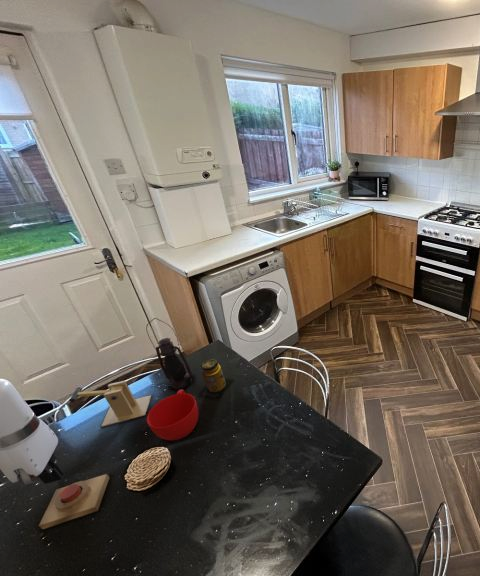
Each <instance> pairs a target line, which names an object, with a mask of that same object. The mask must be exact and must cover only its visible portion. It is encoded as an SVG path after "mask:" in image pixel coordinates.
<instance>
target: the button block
mask: <svg viewBox="0 0 480 576" xmlns="http://www.w3.org/2000/svg"><path fill="white" fill-rule="evenodd" d="M109 480H110V476H109V475H108V474H107V473H105V474H101V475H99V476H95V477H92V478H89V479H85V480H80V481H77V482H73V483H72V484H77V485H78V486H79V487H80V488H81V490H82V491H81V493H80V495H79V496H78V497H77V498H76V499H74V500H72V501H71V502H67V503H65V502H63V501H62V500H61V499H60V494H61V492H62V491H63V490H64V489H65V488H66V487H68V486H70V485H72V484H69V485H66V486H64V487H61V488H57V489H55V491H54V493H53V495H52V498H51V499H50V502H49V503H48V505H47V508H46V510H45V512H44V514H43V516H42V518H41V519H40V522H39V524H38V527H39V528H40V529H41V530H45V529H49V528H52V527H54V526H57V525H60V524H63V523H66V522H69V521H72V520H74V519H78V518H81V517H84V516H86V515H90V514H92V513H95V512H98V511H99V509H100V506H101V503H102V501H103V497H104V495H105V491H106V489H107V486H108V484H109Z"/></svg>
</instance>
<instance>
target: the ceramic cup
mask: <svg viewBox="0 0 480 576" xmlns="http://www.w3.org/2000/svg"><path fill="white" fill-rule="evenodd" d="M198 420H199V407H198V403H197V400H196V398H195V397H194V396H193V395H192V394H191V393H186V392H185V390H184V389H178V391H177V392H176V394H172V395H170V396H167V397H165V398H163V399H161V400H160V401H158V402H157V403H156V404H154V406H153V407H151V409H150V410H149V411H148V414H147V416H146V423H147V425H148V427H149V429H150V430H151V431H152V432H153V434H155V435H156V436H157V437H158V438H160V439H162V440H166V441H178V440H181V439H184V438H186V437H187V436H188V435H190V434H191V433H192V432H193V430H194V429H195V427H196V426H197V423H198Z"/></svg>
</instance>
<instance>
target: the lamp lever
mask: <svg viewBox="0 0 480 576" xmlns="http://www.w3.org/2000/svg"><path fill="white" fill-rule="evenodd" d="M119 389H121V390H122V391H123V386H117V387H112V388H111V390H110V389H104V390H102V389H101V390H90V391H89V390H88V391H82V390H83V388H82V387H81V386H79V387H76V388H75V390H74V391H73V393H72V395H71V396H70V398H69V401H68V402H70V403H75V402H76V401H77V399H78V398H79V397H80V398H81V397H94V396H104V393H107V392H111V391H115V390H119Z"/></svg>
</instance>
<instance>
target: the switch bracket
mask: <svg viewBox="0 0 480 576" xmlns="http://www.w3.org/2000/svg"><path fill="white" fill-rule="evenodd" d="M117 386H123V391H122V390H121V389H119V390H115V391H111V392H107V393H104V395H103V397H104V399H105V400H106V402H107V403H108V405H109V407H108V409H107V412H106V414H105V417H104V419H103V422H102V423H101V428H103V427H106V426H107V427H108V426H110V425H114V424H119V423H122V422H126V421H130V420H133V419H137V418H140V417H143V416H146V414H147V411H148V408H149V405H150V402H151V399H152V395H151V394H150V395H146V396H142V397H137V398H135V396H134V394H133V392H132V391H131V389H130V387H129V385H128V383H127V381H126V380H121V381H117V382H112V383H109V384H107V388H108V390H111V388H112V387H117Z"/></svg>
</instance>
